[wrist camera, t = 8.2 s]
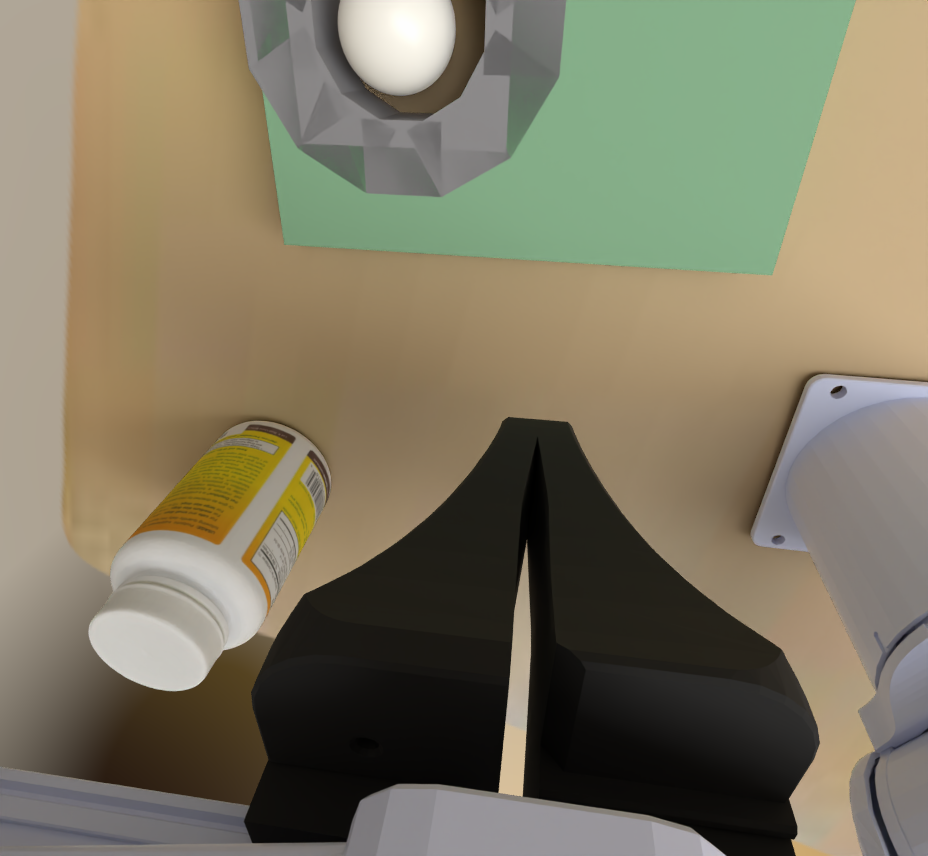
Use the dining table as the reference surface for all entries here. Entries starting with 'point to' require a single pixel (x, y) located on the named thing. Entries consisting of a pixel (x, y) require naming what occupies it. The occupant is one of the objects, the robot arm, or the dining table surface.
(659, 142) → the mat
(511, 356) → the dining table surface
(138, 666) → the supplement bottle
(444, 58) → the ball
